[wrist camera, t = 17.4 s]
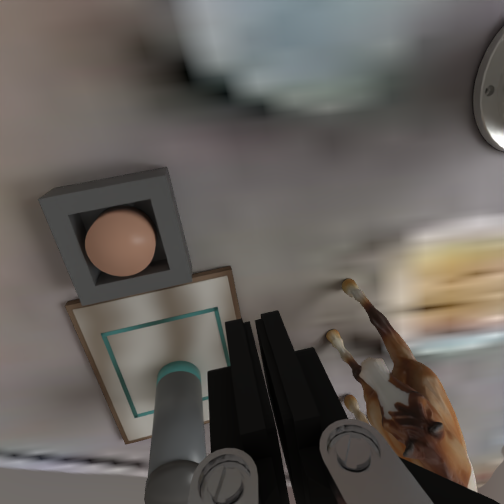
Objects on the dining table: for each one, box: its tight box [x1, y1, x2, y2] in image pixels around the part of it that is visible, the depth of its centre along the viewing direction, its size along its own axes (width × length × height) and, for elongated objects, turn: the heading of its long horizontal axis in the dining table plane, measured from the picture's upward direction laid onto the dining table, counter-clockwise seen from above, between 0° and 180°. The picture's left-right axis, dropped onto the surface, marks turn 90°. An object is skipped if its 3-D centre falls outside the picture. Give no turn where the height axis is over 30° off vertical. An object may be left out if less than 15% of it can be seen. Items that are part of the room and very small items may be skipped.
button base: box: [38, 167, 192, 306], centre depth 29 cm, size 9×9×4 cm
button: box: [85, 206, 157, 276], centre depth 28 cm, size 5×5×2 cm
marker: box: [144, 361, 206, 504], centre depth 31 cm, size 5×5×12 cm
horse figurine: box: [326, 279, 477, 492], centre depth 32 cm, size 31×8×21 cm, turn 18°
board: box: [65, 266, 241, 444], centre depth 36 cm, size 15×18×1 cm
